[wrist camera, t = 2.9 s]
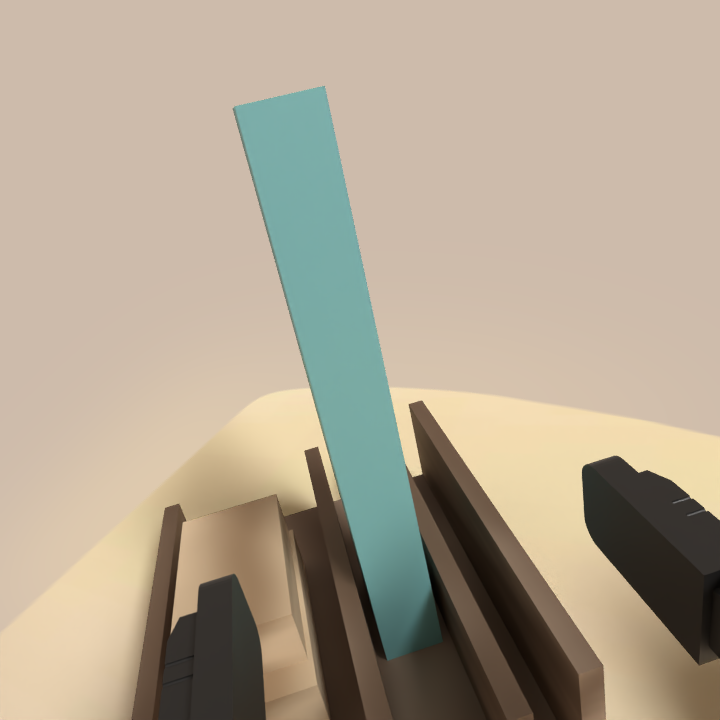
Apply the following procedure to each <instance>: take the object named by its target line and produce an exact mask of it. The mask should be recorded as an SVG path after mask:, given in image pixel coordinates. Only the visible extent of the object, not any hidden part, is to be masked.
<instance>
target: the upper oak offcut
mask: <svg viewBox="0 0 720 720" xmlns="http://www.w3.org/2000/svg"><path fill="white" fill-rule="evenodd" d="M231 574H235V575H236V576H237V578H238V580H239V583H240V585H241V588H242V590H243V593H244V595H245V598H246V600H247V603H248V605H249V608H250V610H251V613H252V615H253V618H254V621H255V623H256V626H257V630H258V634H259V638H260V643H261V650H262V662H263V674H266V673H269V672H272V671H275V670H278V669H281V668H284V667H287V666H290V665H293V664H296V663H299V662H302V661H305V660H308V656H307V650H306V643H305V636H304V629H303V623H302V616H301V609H300V602H299V596H298V589H297V582H296V576H295V569H294V562H293V555H292V549H291V542H290V535H289V531H288V528H287V525H286V522H285V519H284V516H283V513H282V510H281V507H280V504H279V501H278V498H277V495H276V494H275V495H271V496H268V497H265V498H262V499H258V500H255V501H252V502H248V503H245V504H242V505H238V506H235V507H232V508H229V509H225V510H222V511H219V512H215V513H212V514H209V515H205V516H202V517H199V518H195V519H192V520H189V521H186V522H183V525H182V534H181V543H180V552H179V561H178V571H177V580H176V589H175V598H174V607H173V617H172V626H171V633H172V631H173V629H174V627H175V625H176V623H177V621H178V619H179V617H182V616H185V615H188V614H191V613H195V612H197V603H198V589H199V585H200V584H202V583H205V582H208V581H211V580H215V579H218V578H221V577H224V576H227V575H231Z"/></svg>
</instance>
